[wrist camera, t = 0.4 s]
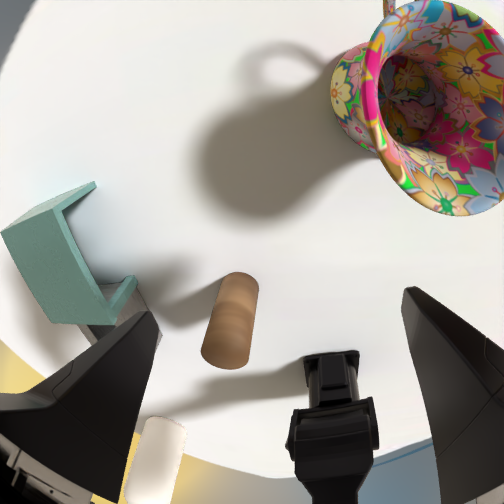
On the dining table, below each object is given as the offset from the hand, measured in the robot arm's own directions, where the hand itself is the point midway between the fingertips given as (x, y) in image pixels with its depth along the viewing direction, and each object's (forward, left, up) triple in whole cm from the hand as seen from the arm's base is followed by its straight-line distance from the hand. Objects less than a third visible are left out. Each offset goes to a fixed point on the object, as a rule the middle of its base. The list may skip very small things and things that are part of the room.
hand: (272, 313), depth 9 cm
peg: (-9, +5, -14) cm, 17 cm away
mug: (+7, -9, -14) cm, 18 cm away
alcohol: (-43, +29, -14) cm, 54 cm away
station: (-5, +20, -14) cm, 25 cm away
